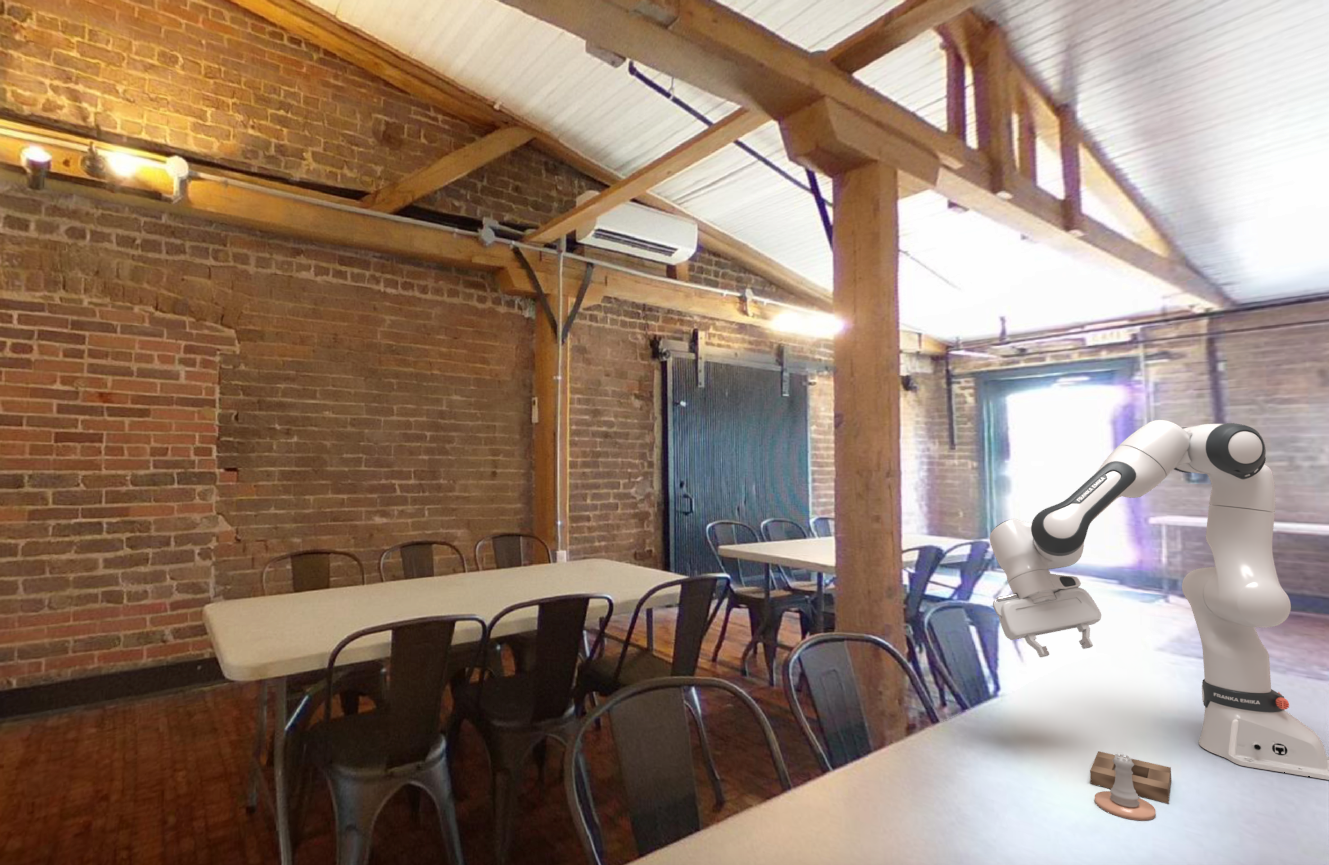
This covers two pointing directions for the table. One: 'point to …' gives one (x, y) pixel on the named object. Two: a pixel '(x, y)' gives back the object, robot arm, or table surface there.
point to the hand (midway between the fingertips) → (1066, 651)
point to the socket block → (1134, 777)
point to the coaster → (1125, 808)
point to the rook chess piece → (1124, 783)
